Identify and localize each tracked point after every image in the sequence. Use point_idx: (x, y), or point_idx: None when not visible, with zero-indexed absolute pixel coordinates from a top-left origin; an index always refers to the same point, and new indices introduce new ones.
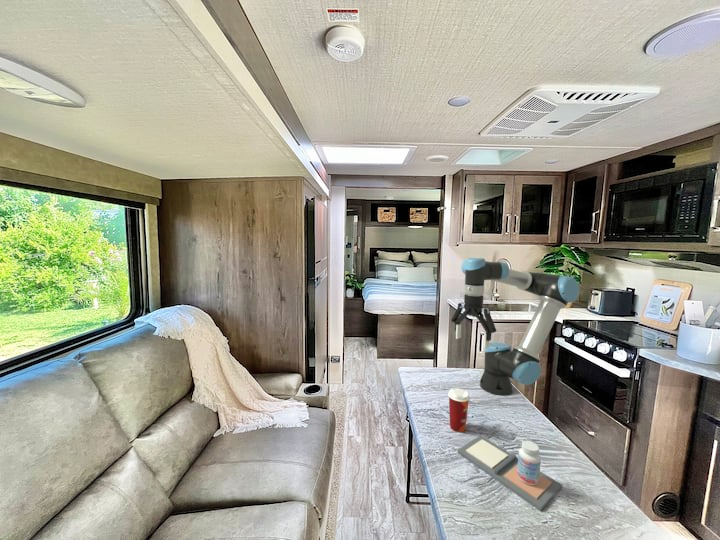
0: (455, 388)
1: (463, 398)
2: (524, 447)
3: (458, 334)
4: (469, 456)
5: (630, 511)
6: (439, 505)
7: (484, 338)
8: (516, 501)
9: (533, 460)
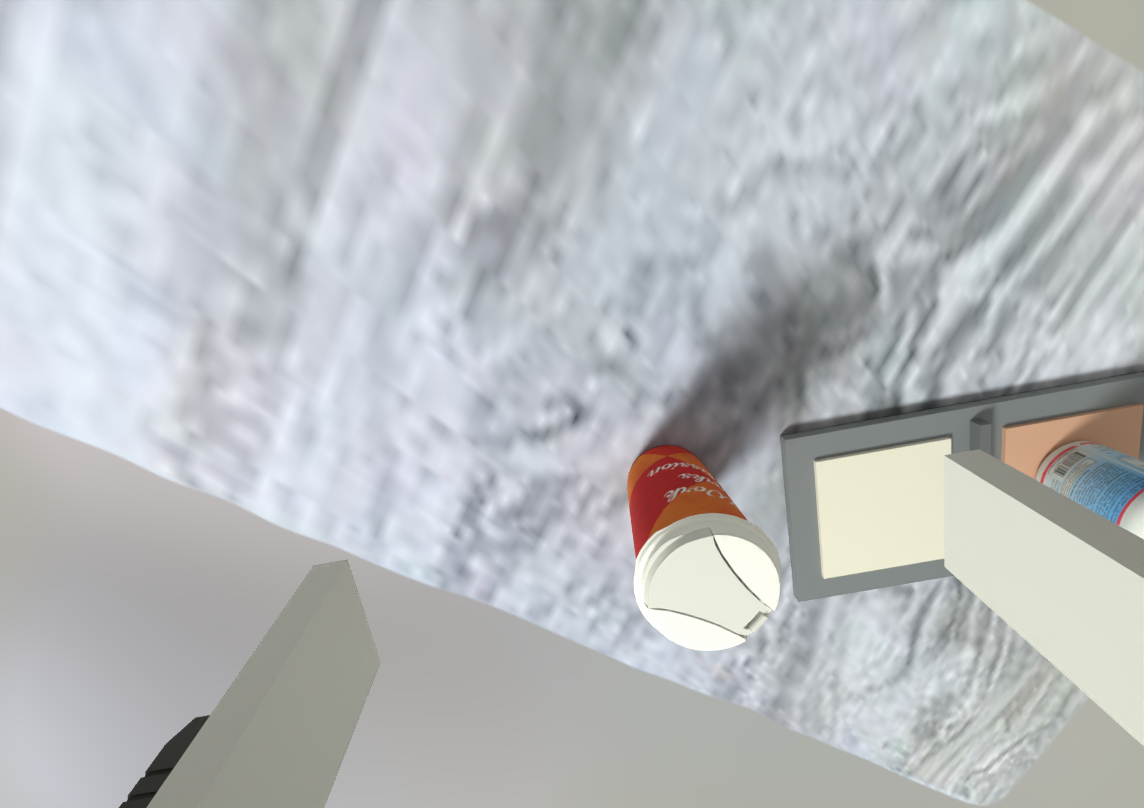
0: (655, 578)
1: (775, 606)
2: None
3: (342, 702)
4: (852, 584)
5: None
6: (924, 780)
7: (1115, 702)
8: None
9: None
